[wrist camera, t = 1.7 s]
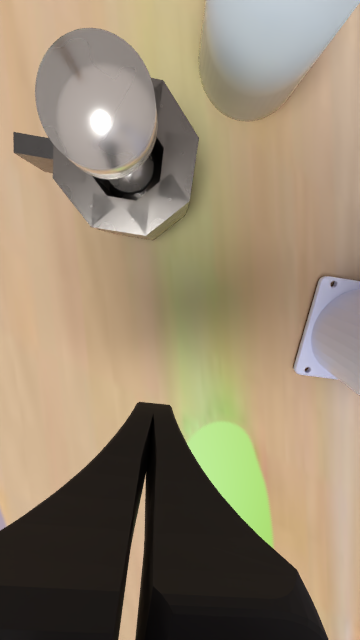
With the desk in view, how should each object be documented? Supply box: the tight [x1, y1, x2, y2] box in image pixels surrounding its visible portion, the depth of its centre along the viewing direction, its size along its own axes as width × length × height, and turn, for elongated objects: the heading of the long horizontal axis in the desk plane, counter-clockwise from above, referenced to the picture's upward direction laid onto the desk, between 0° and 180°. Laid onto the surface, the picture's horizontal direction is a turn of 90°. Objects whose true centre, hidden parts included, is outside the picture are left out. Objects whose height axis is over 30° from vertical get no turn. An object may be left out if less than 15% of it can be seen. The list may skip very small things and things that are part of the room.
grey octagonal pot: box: [13, 78, 199, 240], centre depth 15 cm, size 9×7×5 cm
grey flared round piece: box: [35, 28, 158, 194], centre depth 11 cm, size 4×4×6 cm
